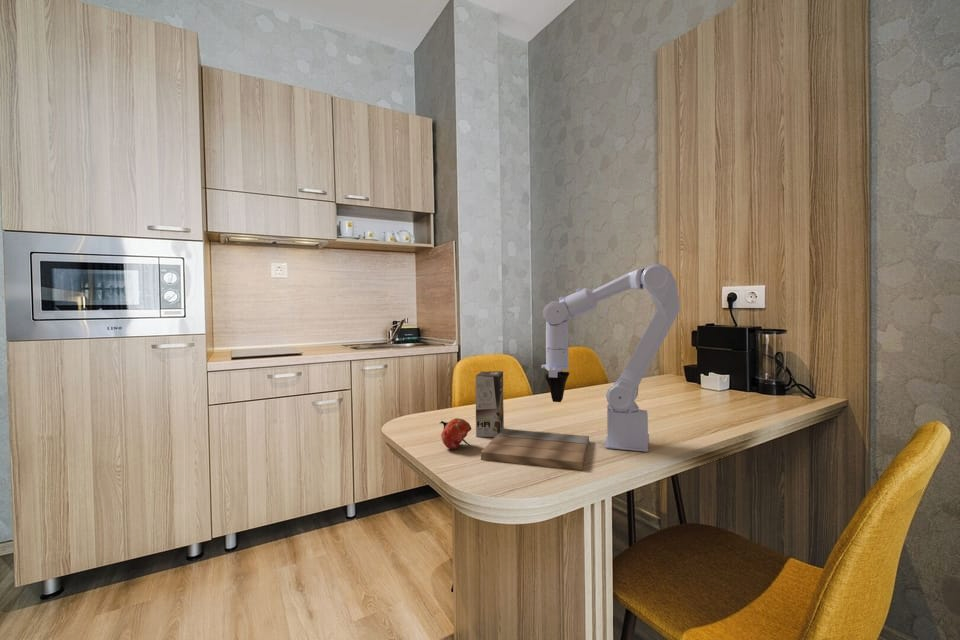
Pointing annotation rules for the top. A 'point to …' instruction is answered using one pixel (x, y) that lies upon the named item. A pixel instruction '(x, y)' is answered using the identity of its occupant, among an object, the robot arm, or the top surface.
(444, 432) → the red rounded piece
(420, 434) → the top surface
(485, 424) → the coffee box
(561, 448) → the laid planks
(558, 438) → the charcoal plank
